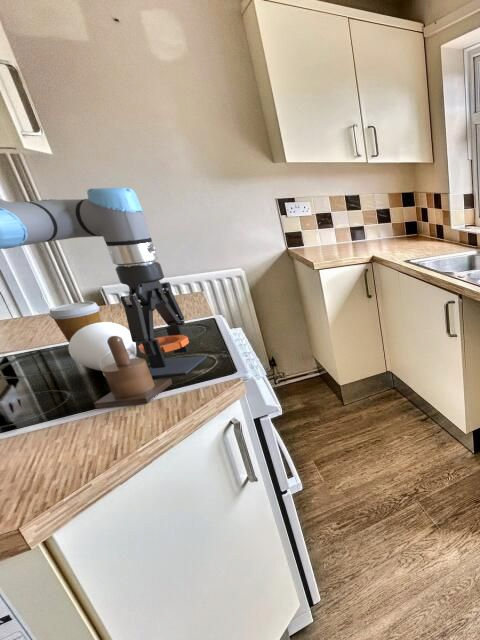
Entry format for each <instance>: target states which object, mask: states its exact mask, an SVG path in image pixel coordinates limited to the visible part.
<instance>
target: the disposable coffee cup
mask: <svg viewBox="0 0 480 640" xmlns="http://www.w3.org/2000/svg"><path fill="white" fill-rule="evenodd" d="M100 308H101V307H100V306H99V305H98V304H97V303H96V302H95V301H79V302H71V303H66V304H60V305H58V306H54V307H51V308H50V309H49V314H48V316H49V317H51V319H52V320H53V321H54V322H55V324H56V325H57V327H58V328H59V330H60V331H61V333H62V334H63V336H64V338H65V340H67V343H69V342H70V340H71V338H72V336H73V335H74V334H75V333H76V332H77V331H78V330H80V329H82V328H83V327H85V326H88V325H90V324H94V323H100V322H102V319H101V314H100Z"/></svg>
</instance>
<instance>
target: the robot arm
mask: <svg viewBox="0 0 480 640" xmlns="http://www.w3.org/2000/svg"><path fill="white" fill-rule="evenodd" d="M86 194H87V198H82V199H81V198H79V199H74V198H73V199H54V198H53V199H52V198H51V199H40V200H30V201H29V200H28V201H26V200H25V201H7V200H5V199H2V198H0V249H1V250H6V249H7V250H8V249H13V248H17V247H23V246H28V245H29V246H30V245H35V244H41V243H47V242H55V241H63V240H69V239H78V238H93V237H97V238H99V237H103V240H104V242H105V245H106V248H107V251H108V253H109V256H110V259H111V262H112V264H113V265H115V266H116V267H115V272H116V275H117V278H118V280H119V282H120V284H122V285H126V286H128V291H129V292H128V293H129V294H127V295H122V296H120V298H119V300H120V302H121V304H122V306H123V308H124V313H125V317H126V321H127V325H128V330H129V331H130V335H131V339H132V342H135V343H136V344H137V343H140V344H142V345H143V347H144V350H145V353H146V354H145V355H146V357H147V359H148V362H149V365H150V367H152V368H163V367H166V366H167V364H166V361H165V359H166V358H165V356H164V352H163V353H162V350H161V347H160V346H161V345H160V344H159V342H158V339H155V329H154V328H155V327H154V326H155V325H154V311H155V310H156V311H157V313H158V314H159V316H160V317H161V318H162V320H163V321H164V323H165V324H166V325H167V326H166V327H165V329H166V332H167V333H166V334H167V336H171V335H184V333H183V330H182V327H181V326H184V325H185V317H184V314H183V312H182V309H181V308H180V306H179V303H178V302H177V299H176V297H175V294H174V293H173V290H172V285H171V283H170V282H168V281H166V282H161V281H162V280H163V279H164V278H165V275H164V271H163V268H162V266H161V263H160V262H159V261H157V260H158V259H159V257H158V255H157V251H156V250H157V248H156V247H155V245H154V243H153V240H152V237H151V234H150V231H149V228H148V225H147V221H146V218H145V214H144V209H143V207H142V206H141V203H140V200H139V198H138V196H137V193H136V191H134V190H133V189H132V188H129V187H100V188H99V187H98V188H97V187H96V188H88V189H87V190H86ZM154 339H155V340H154ZM172 343H173V342H172ZM187 345H188V344H187ZM187 345H185V346H184V347H182V348H180V349H176V350H173V352H174V354H179V353H187V352H189V348H188V346H187Z"/></svg>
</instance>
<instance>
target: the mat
mask: <svg viewBox="0 0 480 640" xmlns="http://www.w3.org/2000/svg"><path fill="white" fill-rule="evenodd" d="M207 358H208V357H207V355H200V356H189V357H178V358H177V357H175V358H167V359H166V358H165V361H166V364H167V366H166V367H163V368H152V367H151V366H150V367H148V368H149V371H150V374H151V376H152V379H154V378H162V377H173V376H181V375H182V376H183V375H184V376H185V375H187V374H189V372H191V371H192V370H194V368H196V367H197V366H199V365H200V364H201V363H202V362H203V361H205V360H206V359H207Z"/></svg>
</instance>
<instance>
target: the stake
mask: <svg viewBox="0 0 480 640" xmlns="http://www.w3.org/2000/svg"><path fill="white" fill-rule="evenodd" d="M107 343H108V345H109V348H110V350H111V353H112V355H113V357H114V360H115V363H112V364H109V365H107V366H105V367H104V368H103V369H102V370H103V371H102V374H103V373H104V375H105V376H104V375H103V376H104V378H105V380H106V382H107V384H108V387H109V390H110V392H109V393H107V394H106V395H104V396H103V397H101V398H100V399H98V400H96V401H95V402H93V405H94V408H95V409H97V410H98V409H105V408H104V407H107V408H114V407H113V406H116V407H124V406H125V405H126V406H134V404H136V405H142V404H141V403H145V404H149V403H150V402H151V401H152V400H153V399H152V398H153V397H155V396H156V395H157V396H159V395H160V394H161V393H162V392H164V391H166V389H168V387H170V386H172V384H173V380H172V378H162V379H154V378H152V376H151V374H150V371H149V368H150V367H148V366H149V365H148V364H147V361H146V359H145V358H142V357H138V358H133V359H130V358H129V356H128V353H127V350H126V348H125V345H124V343H123V340H122V338H120V337H119V336H111V337H110V338H108V340H107ZM153 379H154V380H153ZM159 393H160V394H159ZM158 394H159V395H158ZM157 396H156V397H157ZM156 397H155V398H156ZM151 399H152V400H151ZM150 400H151V401H150ZM149 401H150V402H149ZM148 402H149V403H148Z"/></svg>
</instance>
